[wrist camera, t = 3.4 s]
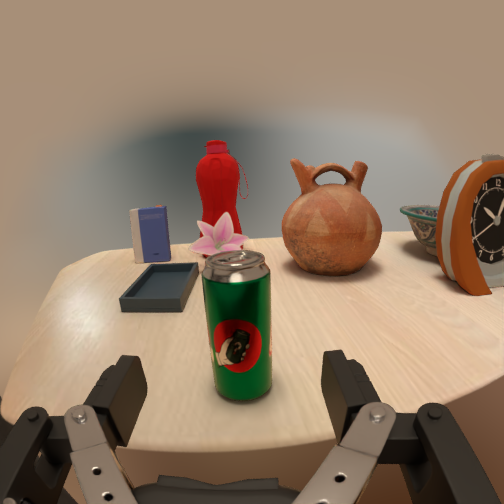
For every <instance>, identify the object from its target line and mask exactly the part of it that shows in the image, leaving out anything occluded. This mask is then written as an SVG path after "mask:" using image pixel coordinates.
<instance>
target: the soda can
mask: <svg viewBox="0 0 504 504" xmlns="http://www.w3.org/2000/svg"><path fill="white" fill-rule="evenodd" d="M264 261H265V257H264V255H263V254H261V253H258V252H254V251H247V250H233V251H225V252H220V253H216V254H213V255H211V256H209V257H207V258H206V261H205V263H206V267H205V269H204V270H203V272H202V284H203V293H204V303H205V312H206V320H207V329H208V337H209V345H210V352H211V360H212V367H213V374H214V381H215V387H216V389H217V390H218V392H219V393H221V394H222V395H224V396H225V397H227V398H229V399H232V400H236V401H250V400H254V399H256V398H258V397H260V396H262V395H263V394H264V393H266V392H267V391H268V390H269V388H270V387H271V384H272V330H271V279H270V269H269V268H268V266H267V265H266V263H265V262H264Z"/></svg>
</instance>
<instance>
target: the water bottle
mask: <svg viewBox="0 0 504 504" xmlns="http://www.w3.org/2000/svg"><path fill="white" fill-rule="evenodd" d="M205 147H207V155H206V156H205V157H204V158H203V159H201V160H200V161H199V163H198V165H197V168H196V182H197V185H198V189H199V192H200V196H201V200H202V205H203V216H202V222H205V223H207V224H209V225H211V226H213V227H214V226H215V224H216V223H217V221H218V220H219V219H220V217H221V216H222V215H223V214H224V213H225V212H228V213H229V215H230V217H231V220H232V223H233V228H234V233H235V234H241V235H242V231H241V227H240V223H239V219H238V215H237V211H236V207H235V206H236V197H237V189H238V182H239V179H240V174H239V170H238V169H239V168H238V164H239V163H238V164H237V163H236V159H235V158H234V157H231V155H228V154H229V153H228V151H229V150H227V145H226V142H223V141H219V140H214V141H209V142H207V146H205ZM227 153H228V154H227ZM244 175H245V174H244ZM246 182H247V181H246ZM244 199H245V198H244ZM203 236H204V235H203V234H202V232H200V238H201V237H203ZM240 248H241V249H243V245H241V246H240ZM203 255H204V256H205V257H209V256H211V255H206V254H203Z"/></svg>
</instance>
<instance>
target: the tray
mask: <svg viewBox="0 0 504 504" xmlns="http://www.w3.org/2000/svg"><path fill="white" fill-rule="evenodd" d="M198 274H199V268H198V262H196V263H171V264H151V265H150V266H149V267H148V268H147V269H146V270H145V271H144V272H143V273H142V274H141V275H140V276H139V277H138V278H137V280H136V281H135V282H134V283H133V284H132V285H131V286H130V287H129V288H128V289H127V290H126V291H125V293H124V294H123V295H122V296H121V297H120V298H119V301H120V306H121V311H122V312H182V311H183V308H184V306H185V304H186V301H187V299H188V297H189V294H190V292H191V290H192V288H193V285H194V283H195V281H196V279H197V276H198Z"/></svg>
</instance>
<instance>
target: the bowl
mask: <svg viewBox="0 0 504 504" xmlns="http://www.w3.org/2000/svg"><path fill="white" fill-rule="evenodd" d="M439 207H440V206H430V205H413V206H404V207H401V208H400V212H401V213H403V214H405V215H407V217H408V219H409V221H410V224H411V227H412V229H413V232H414V234H415V236H416V238H417V239H418V240H419V241H420V242H421V243H422V244H424V245H425V246H426V251H427V252H428V253H429V254H431V255H434V256H437V248H436V239H435V233H436V223H437V214H438V210H439ZM437 257H438V256H437Z"/></svg>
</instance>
